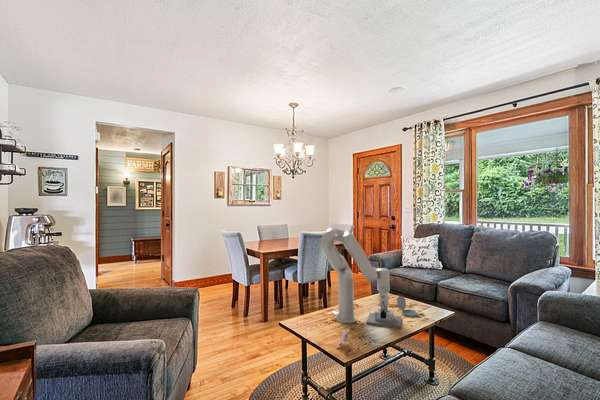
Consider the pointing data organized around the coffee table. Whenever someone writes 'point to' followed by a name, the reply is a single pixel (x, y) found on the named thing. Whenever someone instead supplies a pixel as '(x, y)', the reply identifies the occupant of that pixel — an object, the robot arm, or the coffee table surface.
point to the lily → (344, 337)
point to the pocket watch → (402, 304)
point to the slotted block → (388, 315)
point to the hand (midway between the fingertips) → (384, 315)
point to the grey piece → (384, 322)
